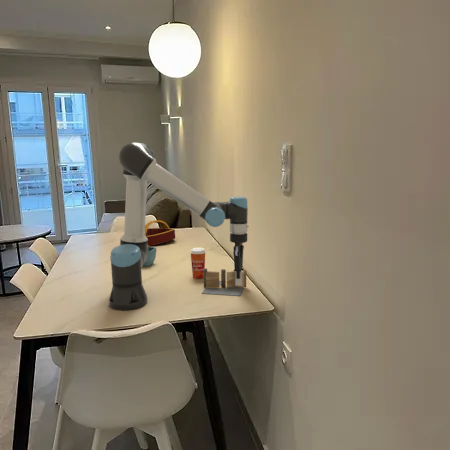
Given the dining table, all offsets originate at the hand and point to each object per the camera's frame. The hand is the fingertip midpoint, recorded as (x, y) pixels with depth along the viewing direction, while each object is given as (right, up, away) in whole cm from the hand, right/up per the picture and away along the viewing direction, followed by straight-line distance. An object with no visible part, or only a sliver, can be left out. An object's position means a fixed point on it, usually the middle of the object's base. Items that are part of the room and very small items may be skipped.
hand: (238, 285), depth 174 cm
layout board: (-6, -2, +4) cm, 8 cm away
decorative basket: (-53, +15, +92) cm, 107 cm away
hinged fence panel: (-1, -1, +4) cm, 4 cm away
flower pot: (-49, +5, +40) cm, 63 cm away
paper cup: (-19, +1, +19) cm, 27 cm away
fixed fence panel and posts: (-11, -2, +5) cm, 12 cm away
